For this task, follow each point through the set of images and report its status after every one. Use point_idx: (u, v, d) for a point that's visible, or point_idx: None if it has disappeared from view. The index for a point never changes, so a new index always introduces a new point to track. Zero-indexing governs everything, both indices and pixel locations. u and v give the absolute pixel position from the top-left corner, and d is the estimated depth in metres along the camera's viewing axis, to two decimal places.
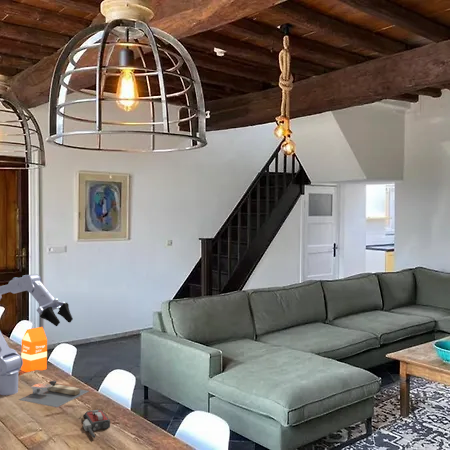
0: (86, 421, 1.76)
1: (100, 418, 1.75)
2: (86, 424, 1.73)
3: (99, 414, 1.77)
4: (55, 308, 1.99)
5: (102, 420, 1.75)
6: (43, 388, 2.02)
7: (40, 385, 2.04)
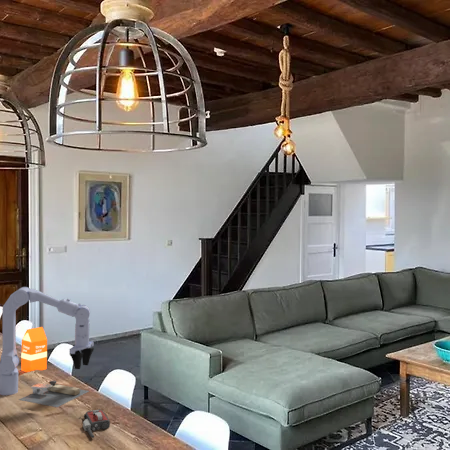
0: (86, 421, 1.76)
1: (100, 418, 1.75)
2: (86, 424, 1.73)
3: (99, 414, 1.77)
4: (83, 349, 2.12)
5: (102, 420, 1.75)
6: (43, 388, 2.02)
7: (40, 385, 2.04)
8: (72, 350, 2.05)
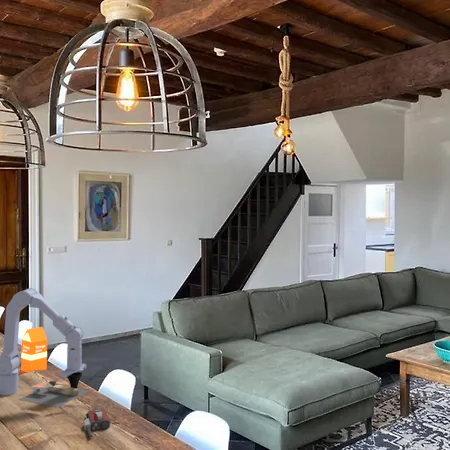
0: (87, 420, 1.77)
1: (100, 418, 1.75)
2: (86, 423, 1.74)
3: (99, 414, 1.77)
4: (75, 372, 2.08)
5: (102, 420, 1.75)
6: (43, 388, 2.02)
7: (40, 385, 2.04)
8: (64, 374, 2.00)
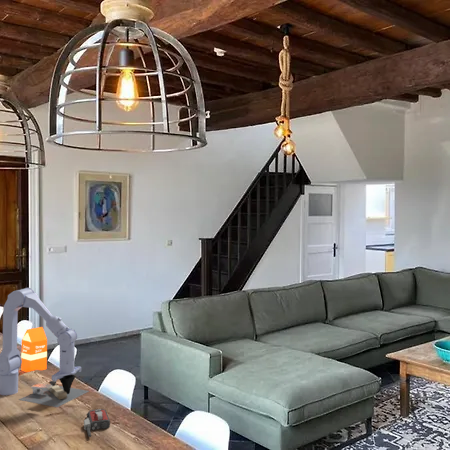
0: (87, 420, 1.77)
1: (100, 418, 1.76)
2: (86, 423, 1.74)
3: (99, 414, 1.77)
4: (68, 375, 2.04)
5: (102, 420, 1.75)
6: (43, 388, 2.02)
7: (40, 385, 2.04)
8: (54, 377, 1.96)
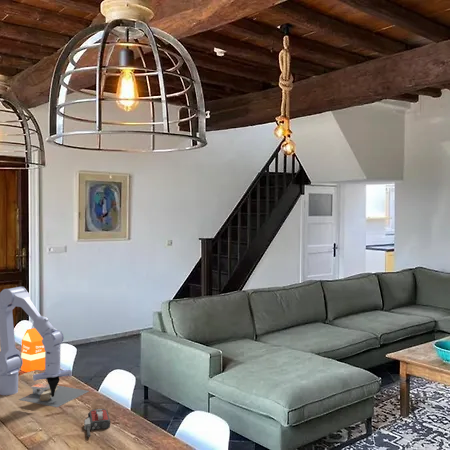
0: (87, 420, 1.77)
1: (100, 418, 1.76)
2: (86, 423, 1.74)
3: (100, 413, 1.77)
4: (55, 377, 2.00)
5: (102, 420, 1.75)
6: (43, 388, 2.02)
7: (40, 385, 2.04)
8: (33, 376, 1.96)
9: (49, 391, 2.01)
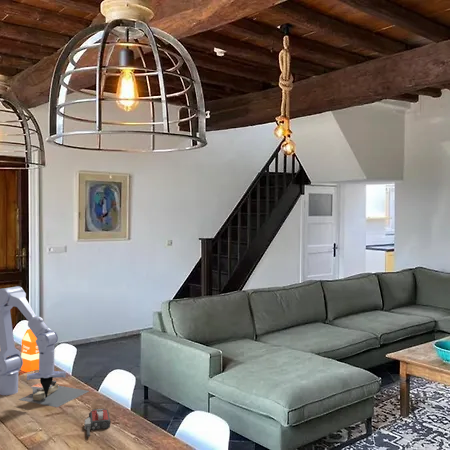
0: (88, 419, 1.77)
1: (100, 417, 1.76)
2: (86, 422, 1.75)
3: (100, 413, 1.78)
4: (49, 378, 1.99)
5: (102, 420, 1.75)
6: None
7: (40, 385, 2.04)
8: None
9: None
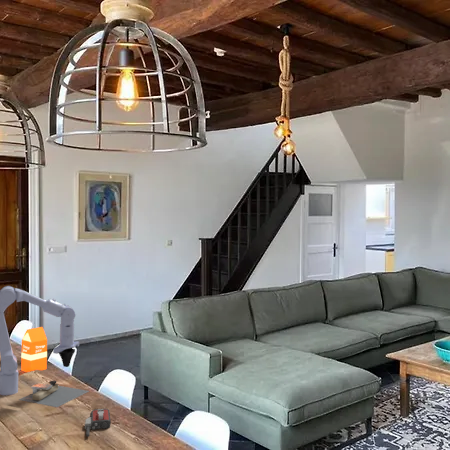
0: (88, 419, 1.78)
1: (100, 417, 1.76)
2: (86, 422, 1.75)
3: (101, 413, 1.78)
4: (68, 349, 2.16)
5: (102, 420, 1.75)
6: (43, 388, 2.02)
7: (40, 385, 2.04)
8: (56, 350, 2.08)
9: (44, 391, 2.01)
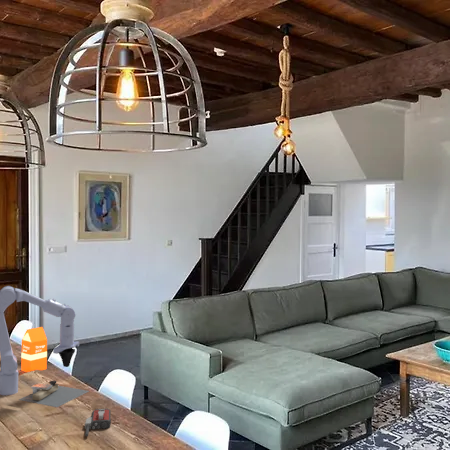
0: (89, 419, 1.78)
1: (100, 417, 1.76)
2: (86, 422, 1.75)
3: (101, 413, 1.78)
4: (68, 349, 2.16)
5: (102, 420, 1.76)
6: (43, 388, 2.02)
7: (40, 385, 2.04)
8: (56, 350, 2.08)
9: (44, 391, 2.01)
